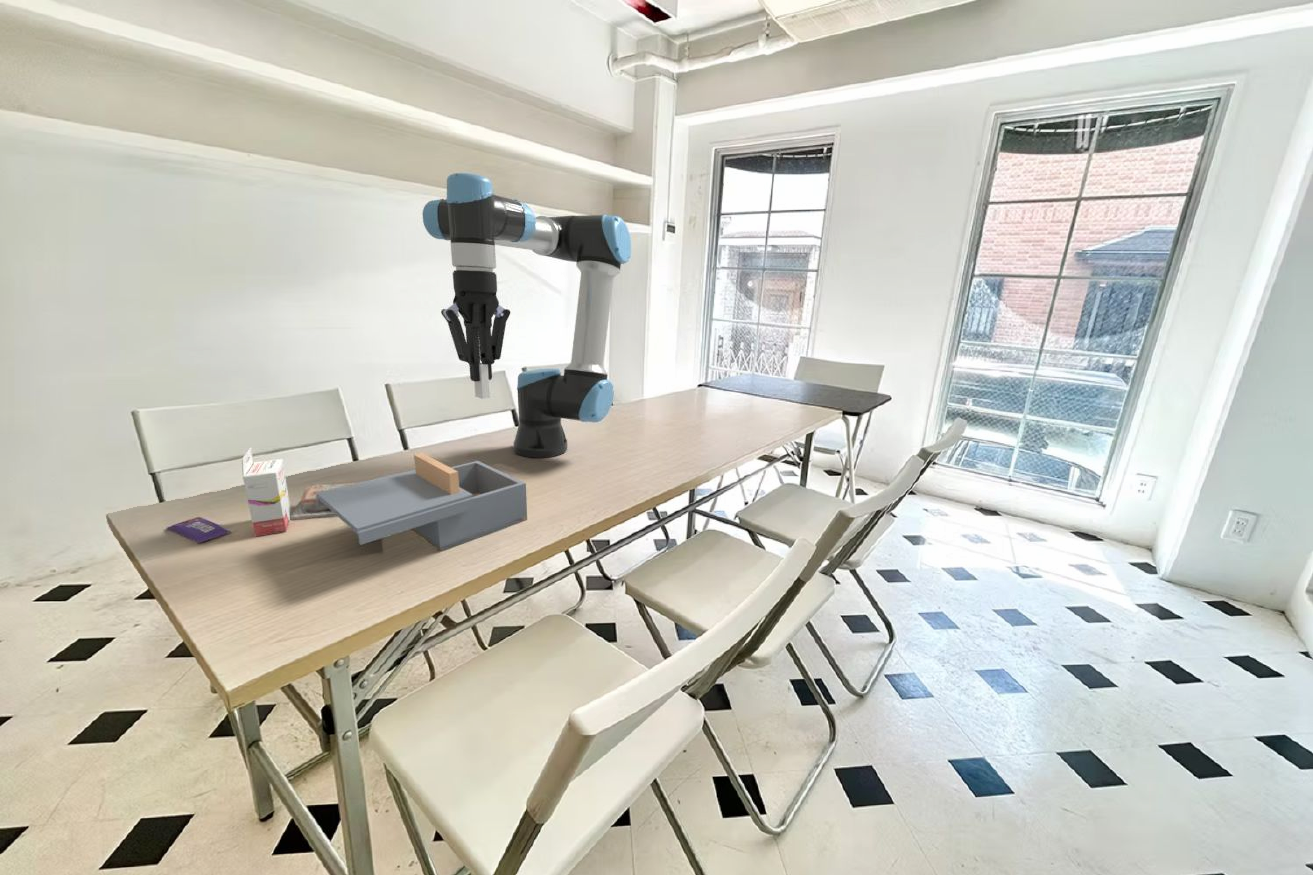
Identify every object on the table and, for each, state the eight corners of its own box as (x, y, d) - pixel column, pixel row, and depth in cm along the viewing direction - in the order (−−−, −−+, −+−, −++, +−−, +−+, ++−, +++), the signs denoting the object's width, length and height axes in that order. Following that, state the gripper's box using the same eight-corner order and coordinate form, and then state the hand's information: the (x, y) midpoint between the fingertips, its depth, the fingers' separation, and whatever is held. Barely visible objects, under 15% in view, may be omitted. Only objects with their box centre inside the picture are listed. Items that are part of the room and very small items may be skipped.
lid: (423, 478, 103) (421, 448, 101) (475, 508, 90) (473, 474, 88) (317, 504, 89) (311, 470, 87) (360, 544, 76) (355, 505, 74)
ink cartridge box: (288, 531, 92) (273, 456, 88) (254, 537, 90) (238, 460, 86) (293, 513, 100) (280, 443, 95) (262, 518, 97) (247, 446, 93)
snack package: (230, 526, 90) (196, 538, 86) (232, 536, 91) (199, 548, 87) (198, 512, 95) (164, 522, 91) (200, 521, 96) (166, 532, 92)
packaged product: (398, 474, 110) (390, 492, 101) (401, 495, 111) (392, 514, 102) (303, 480, 104) (285, 499, 95) (307, 501, 106) (289, 522, 97)
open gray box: (480, 494, 112) (477, 460, 110) (527, 520, 101) (525, 483, 99) (397, 518, 99) (392, 481, 97) (440, 551, 88) (436, 510, 86)
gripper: (495, 271, 98) (501, 389, 104) (429, 267, 88) (440, 398, 95) (517, 271, 93) (522, 396, 100) (450, 268, 83) (460, 405, 90)
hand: (482, 397), depth 97 cm, fingers closed
